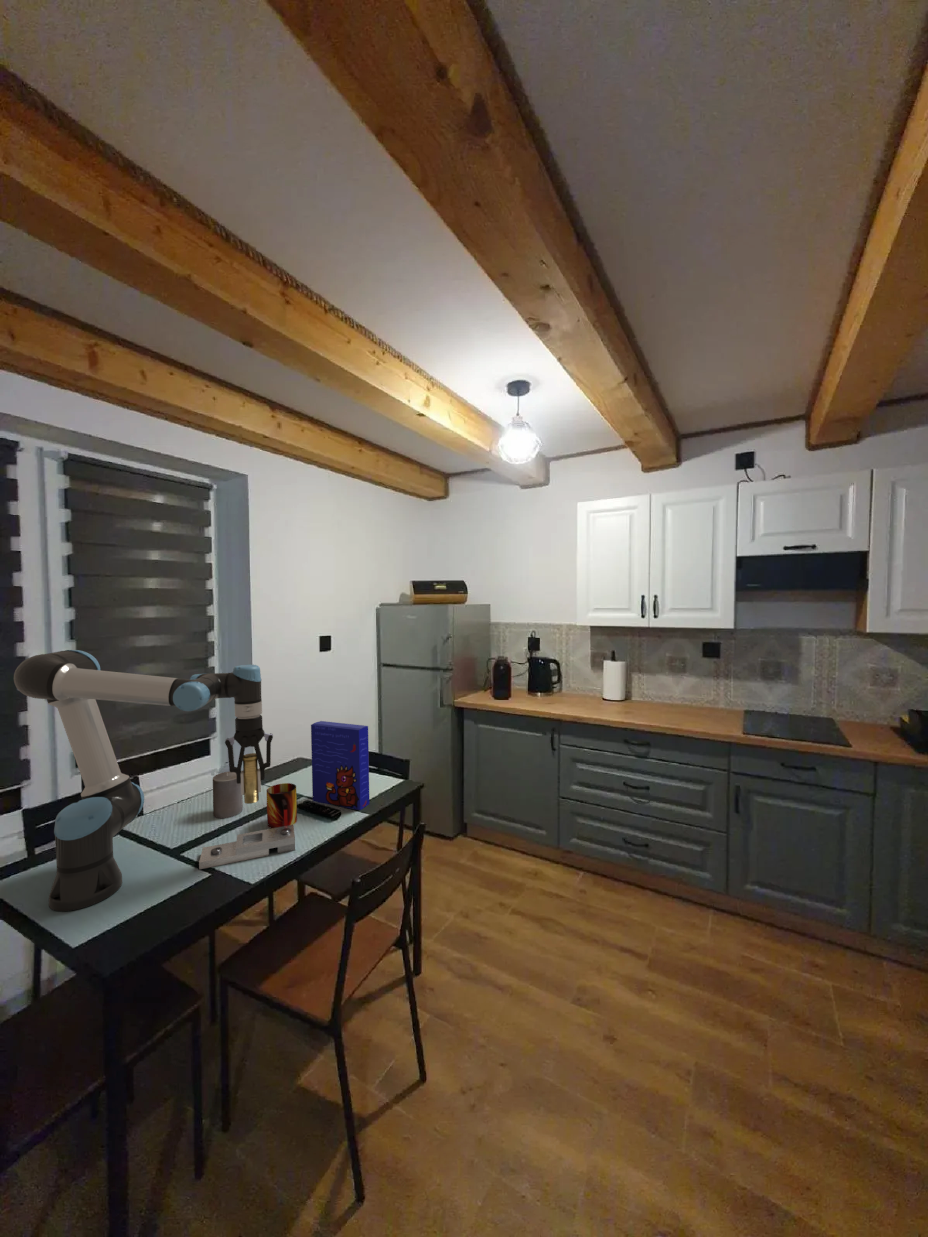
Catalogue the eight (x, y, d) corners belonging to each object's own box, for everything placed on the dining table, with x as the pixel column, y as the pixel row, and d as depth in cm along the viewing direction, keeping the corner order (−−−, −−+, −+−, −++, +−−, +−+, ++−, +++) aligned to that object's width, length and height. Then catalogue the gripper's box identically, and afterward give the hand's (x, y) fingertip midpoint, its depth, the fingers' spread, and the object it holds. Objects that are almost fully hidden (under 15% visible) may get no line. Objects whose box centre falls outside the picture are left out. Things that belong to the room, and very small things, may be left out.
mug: (285, 835, 154) (284, 799, 154) (261, 824, 162) (260, 790, 161) (310, 823, 162) (309, 789, 161) (286, 813, 170) (285, 781, 169)
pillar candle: (210, 812, 172) (209, 772, 171) (238, 804, 178) (237, 765, 177) (217, 821, 164) (216, 779, 164) (246, 813, 171) (245, 772, 170)
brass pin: (242, 805, 140) (241, 759, 140) (243, 799, 144) (242, 754, 144) (259, 802, 142) (258, 756, 141) (260, 796, 146) (258, 752, 146)
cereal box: (369, 803, 177) (368, 725, 176) (360, 810, 172) (358, 729, 171) (322, 795, 186) (321, 720, 185) (312, 801, 180) (310, 724, 179)
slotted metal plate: (199, 869, 135) (198, 853, 134) (203, 854, 143) (202, 839, 143) (295, 850, 145) (294, 835, 144) (293, 836, 153) (293, 822, 153)
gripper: (215, 722, 136) (218, 801, 136) (279, 715, 142) (281, 791, 143) (218, 716, 143) (221, 792, 143) (278, 710, 149) (281, 783, 150)
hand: (251, 791), depth 143 cm, fingers closed on brass pin, 4 cm apart
